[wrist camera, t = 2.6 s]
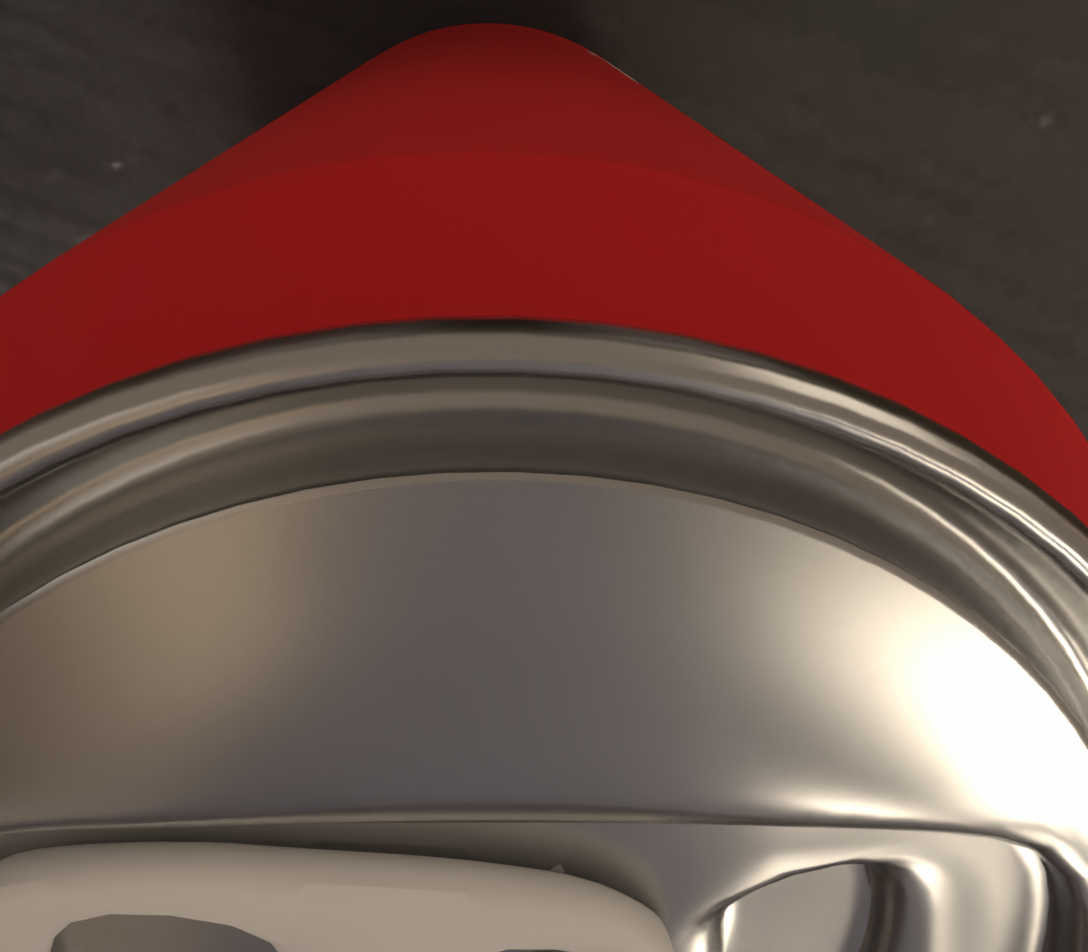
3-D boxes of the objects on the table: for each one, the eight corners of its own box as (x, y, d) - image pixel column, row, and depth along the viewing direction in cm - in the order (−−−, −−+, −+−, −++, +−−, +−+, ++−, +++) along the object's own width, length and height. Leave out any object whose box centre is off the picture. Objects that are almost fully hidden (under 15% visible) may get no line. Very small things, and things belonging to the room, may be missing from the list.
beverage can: (629, 427, 15) (952, 1473, 5) (283, 367, 15) (-289, 1426, 4) (724, 68, 13) (1764, 450, 2) (323, -23, 12) (-731, -53, 2)
